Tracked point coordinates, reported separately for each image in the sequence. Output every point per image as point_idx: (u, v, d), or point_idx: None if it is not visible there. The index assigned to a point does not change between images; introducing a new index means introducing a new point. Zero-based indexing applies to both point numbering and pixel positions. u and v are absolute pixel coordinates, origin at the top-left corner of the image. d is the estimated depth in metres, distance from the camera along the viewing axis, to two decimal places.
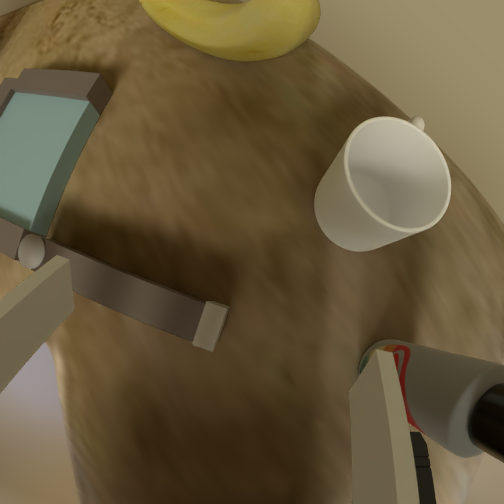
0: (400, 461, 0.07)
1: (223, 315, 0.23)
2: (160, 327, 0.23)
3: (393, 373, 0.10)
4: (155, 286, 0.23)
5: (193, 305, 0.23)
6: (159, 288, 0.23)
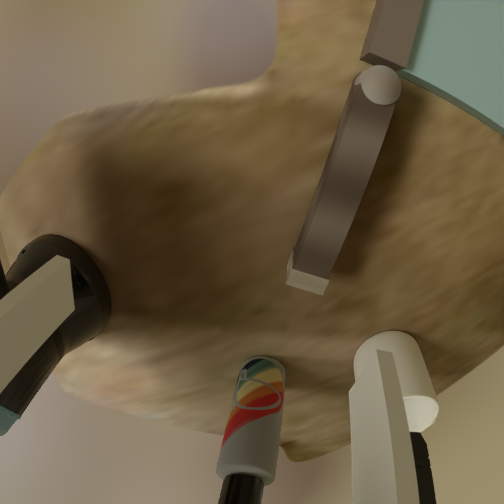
0: (400, 461, 0.07)
1: (317, 292, 0.27)
2: (306, 241, 0.26)
3: (393, 373, 0.10)
4: (344, 237, 0.25)
5: (326, 269, 0.26)
6: (342, 241, 0.25)
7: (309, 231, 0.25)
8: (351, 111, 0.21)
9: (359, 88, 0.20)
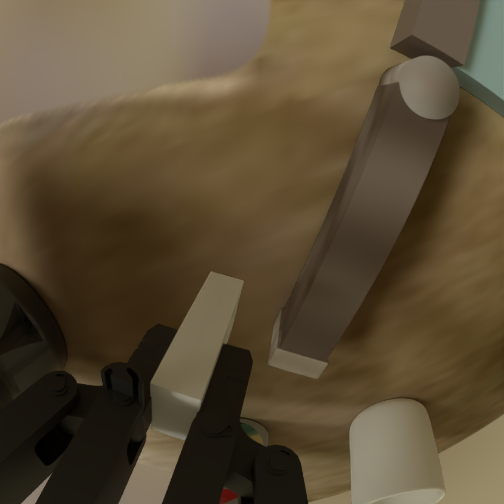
0: (198, 358, 0.09)
1: (310, 376, 0.19)
2: (299, 315, 0.18)
3: (233, 294, 0.13)
4: (354, 311, 0.17)
5: (325, 350, 0.18)
6: (351, 316, 0.17)
7: (304, 303, 0.17)
8: (381, 126, 0.13)
9: (396, 90, 0.12)
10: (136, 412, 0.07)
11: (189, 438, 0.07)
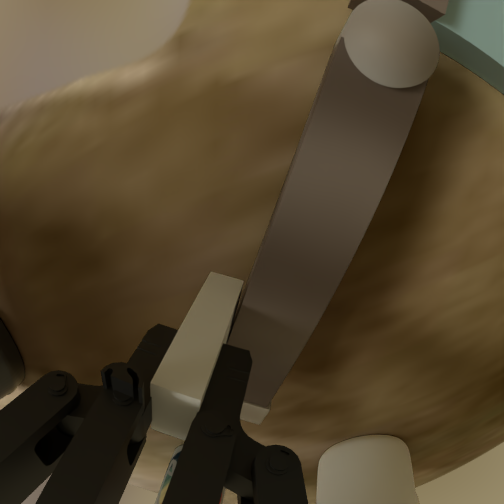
0: (198, 358, 0.09)
1: (250, 421, 0.15)
2: None
3: (233, 294, 0.13)
4: (296, 355, 0.13)
5: (264, 396, 0.14)
6: (292, 361, 0.13)
7: (229, 342, 0.13)
8: (319, 101, 0.09)
9: (339, 48, 0.08)
10: (136, 412, 0.07)
11: (189, 438, 0.07)
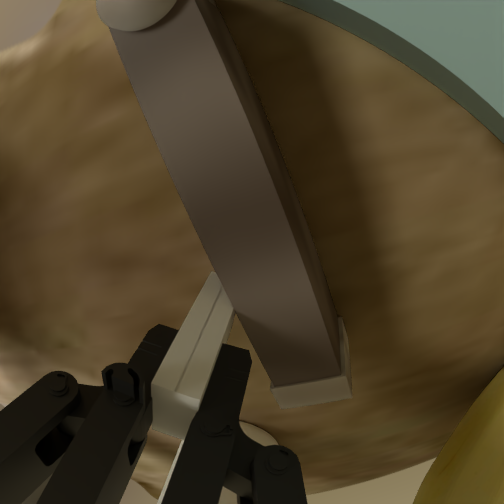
0: (197, 358, 0.09)
1: (340, 399, 0.13)
2: (255, 343, 0.12)
3: None
4: (313, 300, 0.11)
5: (327, 364, 0.12)
6: (315, 309, 0.11)
7: (245, 327, 0.12)
8: (130, 77, 0.09)
9: (113, 33, 0.08)
10: (137, 412, 0.07)
11: (188, 438, 0.07)
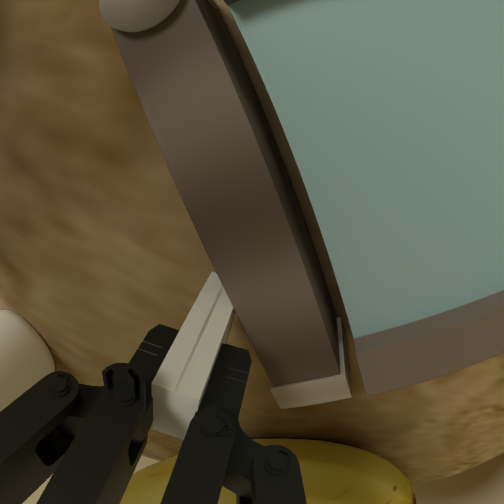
0: (197, 358, 0.09)
1: (339, 398, 0.13)
2: (255, 342, 0.13)
3: None
4: (313, 298, 0.11)
5: (327, 363, 0.12)
6: (315, 307, 0.11)
7: (245, 326, 0.12)
8: (132, 77, 0.09)
9: (115, 33, 0.08)
10: (138, 413, 0.07)
11: (187, 438, 0.07)
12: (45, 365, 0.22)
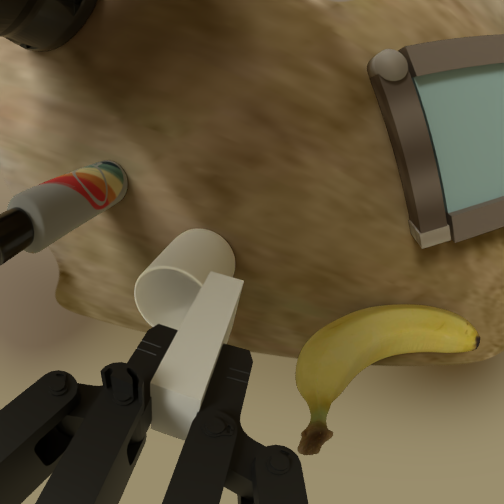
0: (198, 358, 0.09)
1: (446, 240, 0.28)
2: (417, 208, 0.28)
3: (233, 294, 0.13)
4: (439, 187, 0.26)
5: (442, 219, 0.28)
6: (440, 191, 0.27)
7: (415, 199, 0.27)
8: (386, 97, 0.24)
9: (380, 77, 0.23)
10: (136, 412, 0.07)
11: (189, 438, 0.07)
12: (234, 268, 0.37)
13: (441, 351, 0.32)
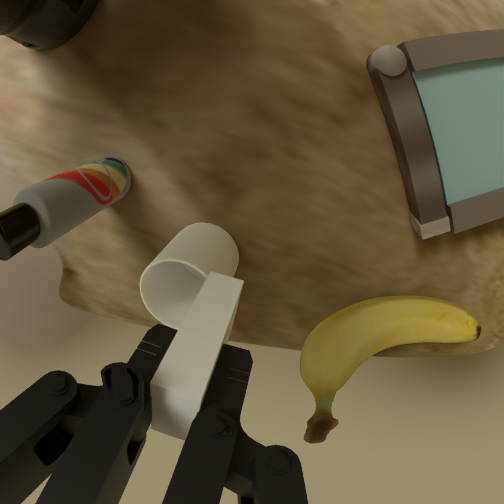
0: (198, 358, 0.09)
1: (446, 231, 0.29)
2: (417, 199, 0.28)
3: (233, 294, 0.13)
4: (439, 179, 0.27)
5: (442, 210, 0.28)
6: (439, 183, 0.27)
7: (415, 191, 0.28)
8: (386, 91, 0.25)
9: (379, 72, 0.24)
10: (136, 412, 0.07)
11: (189, 438, 0.07)
12: (237, 261, 0.38)
13: (443, 341, 0.32)
